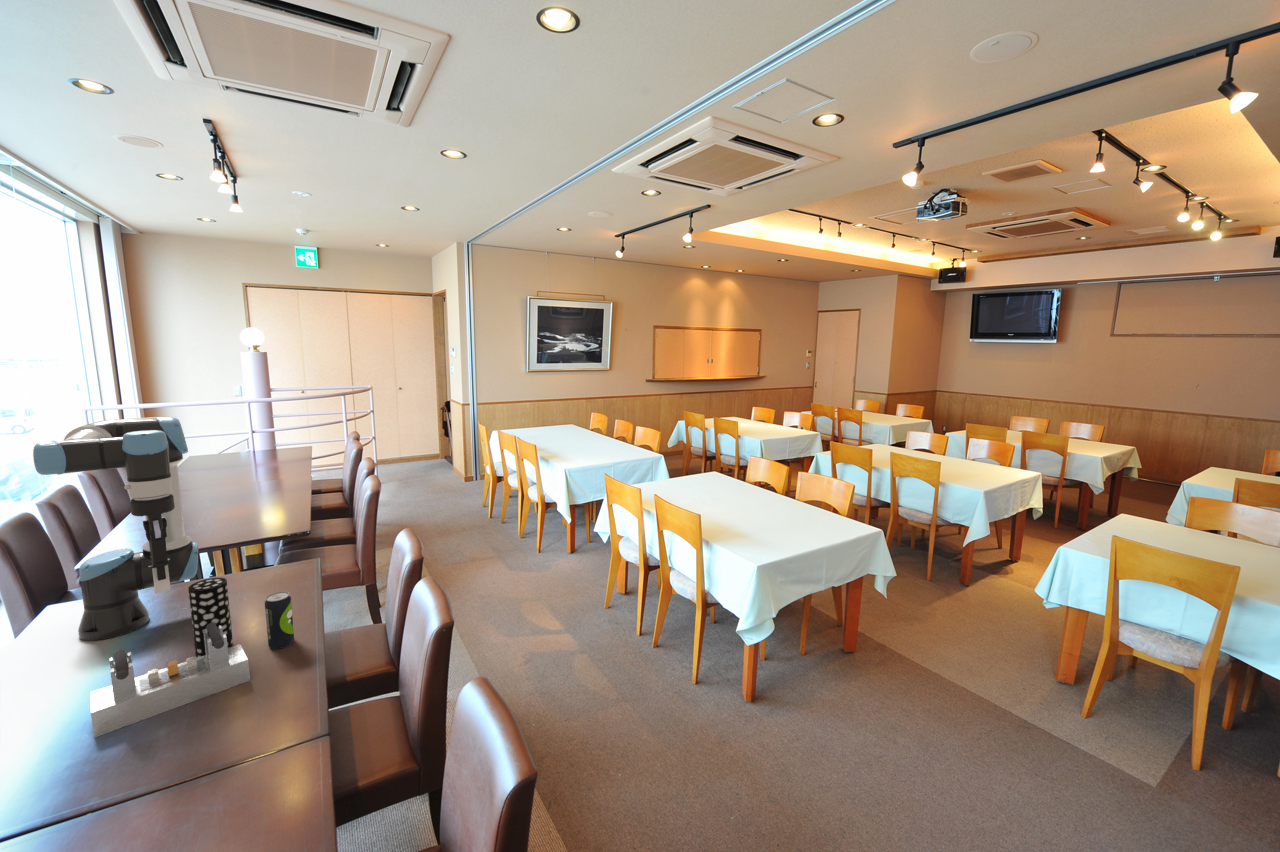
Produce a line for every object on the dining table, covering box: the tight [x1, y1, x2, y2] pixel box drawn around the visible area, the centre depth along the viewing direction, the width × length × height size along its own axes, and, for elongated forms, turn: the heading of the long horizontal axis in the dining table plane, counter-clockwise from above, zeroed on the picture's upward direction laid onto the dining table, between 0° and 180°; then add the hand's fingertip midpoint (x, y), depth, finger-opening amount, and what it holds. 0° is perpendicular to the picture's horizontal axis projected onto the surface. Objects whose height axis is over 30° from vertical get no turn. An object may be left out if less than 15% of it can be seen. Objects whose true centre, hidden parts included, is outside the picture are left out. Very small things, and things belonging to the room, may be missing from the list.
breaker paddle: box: [166, 659, 179, 676], centre depth 126 cm, size 2×2×3 cm
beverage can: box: [264, 591, 295, 650], centre depth 149 cm, size 6×6×15 cm
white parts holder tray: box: [89, 626, 251, 738], centre depth 126 cm, size 10×28×13 cm, turn 137°
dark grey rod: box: [206, 623, 224, 649], centre depth 131 cm, size 13×2×2 cm, turn 47°
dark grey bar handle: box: [113, 648, 129, 680], centre depth 119 cm, size 13×2×2 cm, turn 47°
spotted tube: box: [187, 577, 234, 658], centre depth 146 cm, size 8×8×20 cm
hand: (162, 590), depth 124 cm, fingers closed
